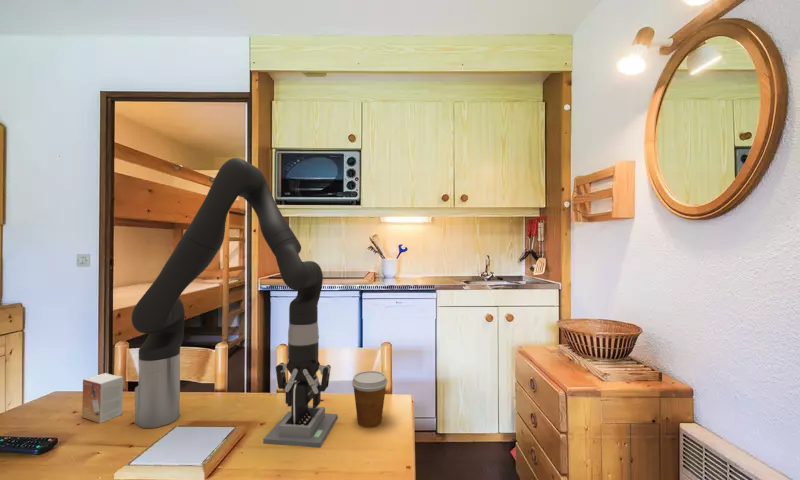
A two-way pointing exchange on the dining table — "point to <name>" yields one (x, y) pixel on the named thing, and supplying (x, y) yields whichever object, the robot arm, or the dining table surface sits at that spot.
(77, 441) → the dining table surface
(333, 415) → the dock
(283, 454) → the dining table surface
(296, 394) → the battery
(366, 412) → the disposable coffee cup
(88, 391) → the small box
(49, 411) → the dining table surface
